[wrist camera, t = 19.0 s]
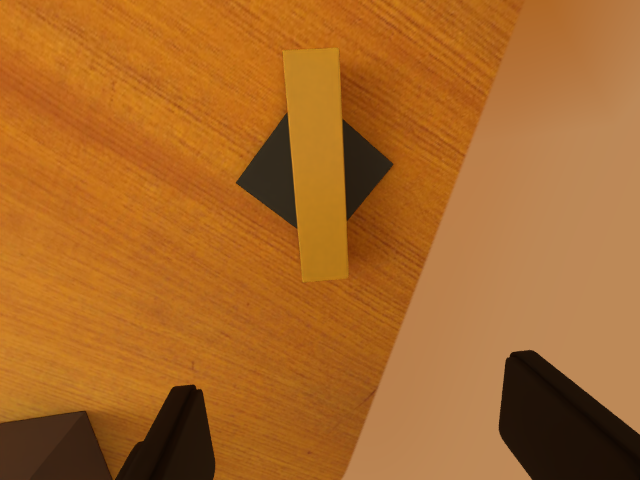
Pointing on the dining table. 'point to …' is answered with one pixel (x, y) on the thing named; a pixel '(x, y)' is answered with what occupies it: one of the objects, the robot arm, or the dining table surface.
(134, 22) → the dining table surface
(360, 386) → the dining table surface
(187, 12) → the dining table surface
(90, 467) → the tower
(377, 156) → the mat
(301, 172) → the bar
